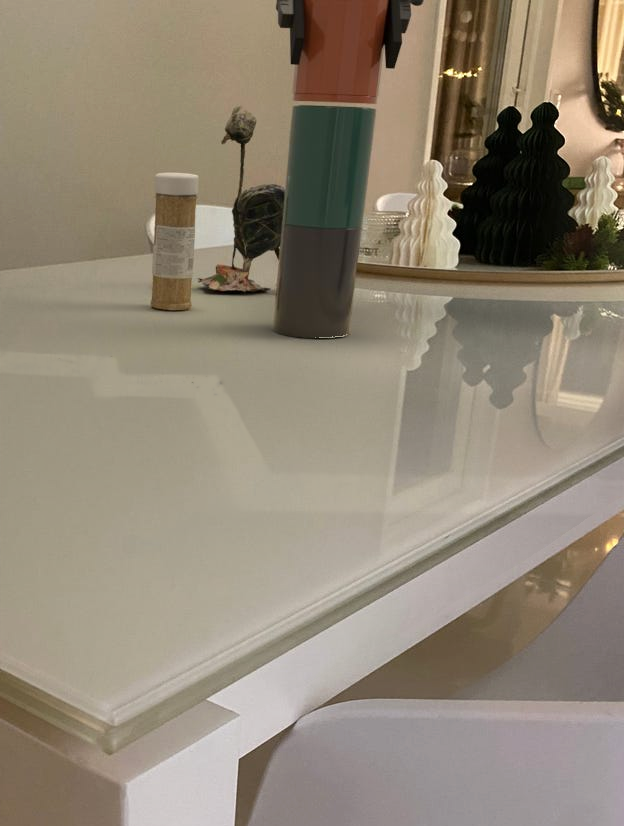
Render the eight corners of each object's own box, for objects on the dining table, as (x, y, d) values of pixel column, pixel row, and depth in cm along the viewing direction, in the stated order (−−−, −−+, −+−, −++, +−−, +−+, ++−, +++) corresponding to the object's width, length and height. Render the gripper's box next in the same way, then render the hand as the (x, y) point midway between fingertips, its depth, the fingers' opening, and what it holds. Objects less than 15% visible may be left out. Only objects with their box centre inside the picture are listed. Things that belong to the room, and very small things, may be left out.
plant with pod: (292, 297, 124) (310, 108, 114) (197, 293, 123) (208, 104, 114) (284, 287, 131) (301, 108, 122) (194, 284, 131) (204, 104, 122)
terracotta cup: (364, 104, 99) (382, -47, 93) (386, 104, 92) (406, -59, 87) (285, 101, 98) (298, -51, 93) (301, 100, 91) (316, -63, 86)
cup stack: (339, 325, 108) (364, 108, 99) (357, 339, 101) (386, 108, 92) (266, 323, 107) (285, 105, 98) (280, 338, 101) (301, 104, 91)
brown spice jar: (162, 302, 117) (168, 171, 111) (199, 307, 115) (206, 174, 109) (142, 308, 113) (147, 172, 107) (179, 313, 111) (186, 175, 105)
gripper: (435, -92, 101) (450, 93, 94) (224, -101, 101) (223, 84, 94) (459, -173, 94) (477, 20, 87) (232, -183, 94) (231, 10, 87)
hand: (345, 53), depth 90 cm, fingers closed on terracotta cup, 8 cm apart
